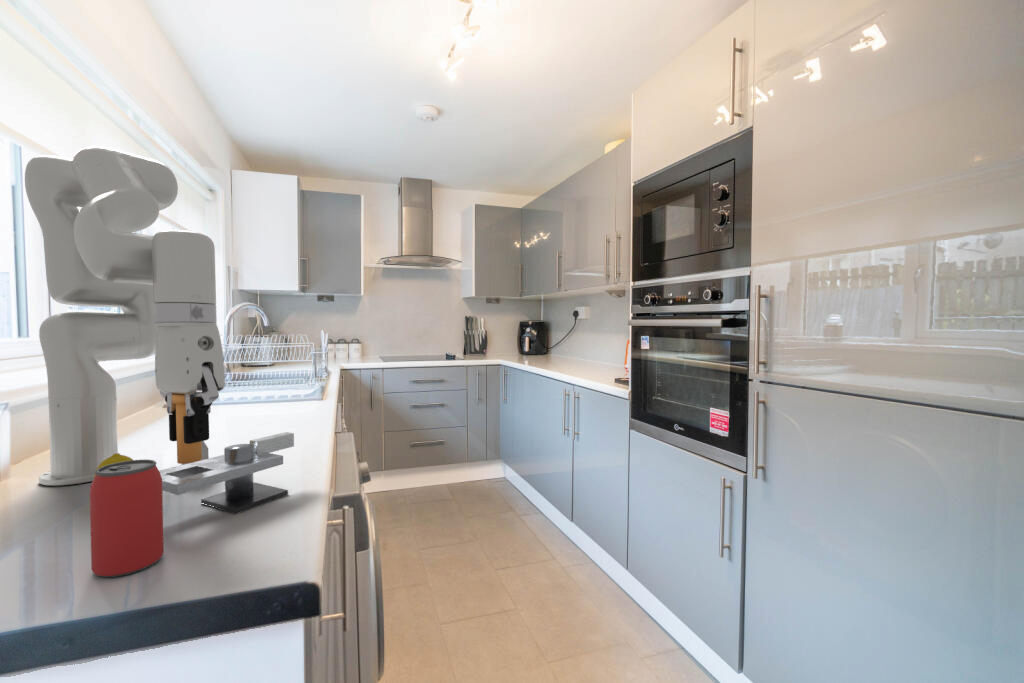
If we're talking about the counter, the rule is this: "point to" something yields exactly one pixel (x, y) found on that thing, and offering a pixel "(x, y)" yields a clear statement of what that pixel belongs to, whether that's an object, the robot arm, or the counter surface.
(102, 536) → the beer can
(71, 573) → the counter surface
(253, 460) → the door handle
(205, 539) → the counter surface
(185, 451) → the orange flanged peg
